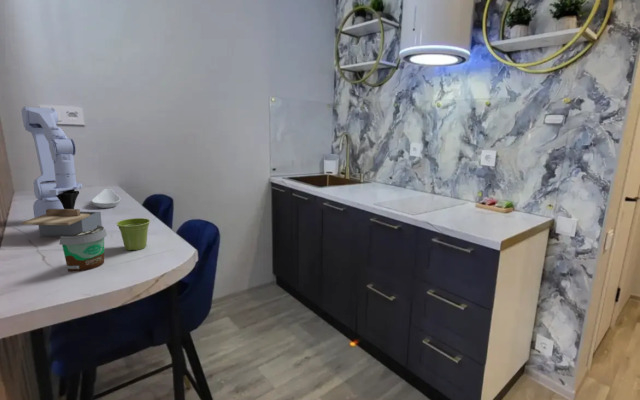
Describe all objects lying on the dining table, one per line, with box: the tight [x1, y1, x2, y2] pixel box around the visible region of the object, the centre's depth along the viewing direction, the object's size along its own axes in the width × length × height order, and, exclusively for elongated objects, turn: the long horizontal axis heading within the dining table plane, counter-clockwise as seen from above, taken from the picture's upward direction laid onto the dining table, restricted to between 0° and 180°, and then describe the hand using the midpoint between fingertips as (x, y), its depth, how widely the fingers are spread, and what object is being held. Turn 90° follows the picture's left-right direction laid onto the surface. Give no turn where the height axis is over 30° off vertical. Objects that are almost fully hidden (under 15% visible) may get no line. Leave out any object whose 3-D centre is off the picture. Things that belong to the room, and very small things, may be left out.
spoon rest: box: [90, 188, 121, 209], centre depth 164 cm, size 24×12×7 cm, turn 29°
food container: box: [59, 225, 108, 272], centre depth 92 cm, size 12×6×10 cm, turn 168°
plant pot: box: [116, 217, 151, 251], centre depth 107 cm, size 9×9×9 cm
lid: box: [21, 208, 90, 226], centre depth 114 cm, size 14×12×3 cm
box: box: [38, 210, 103, 237], centre depth 121 cm, size 14×12×6 cm
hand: (69, 211), depth 120 cm, fingers closed
